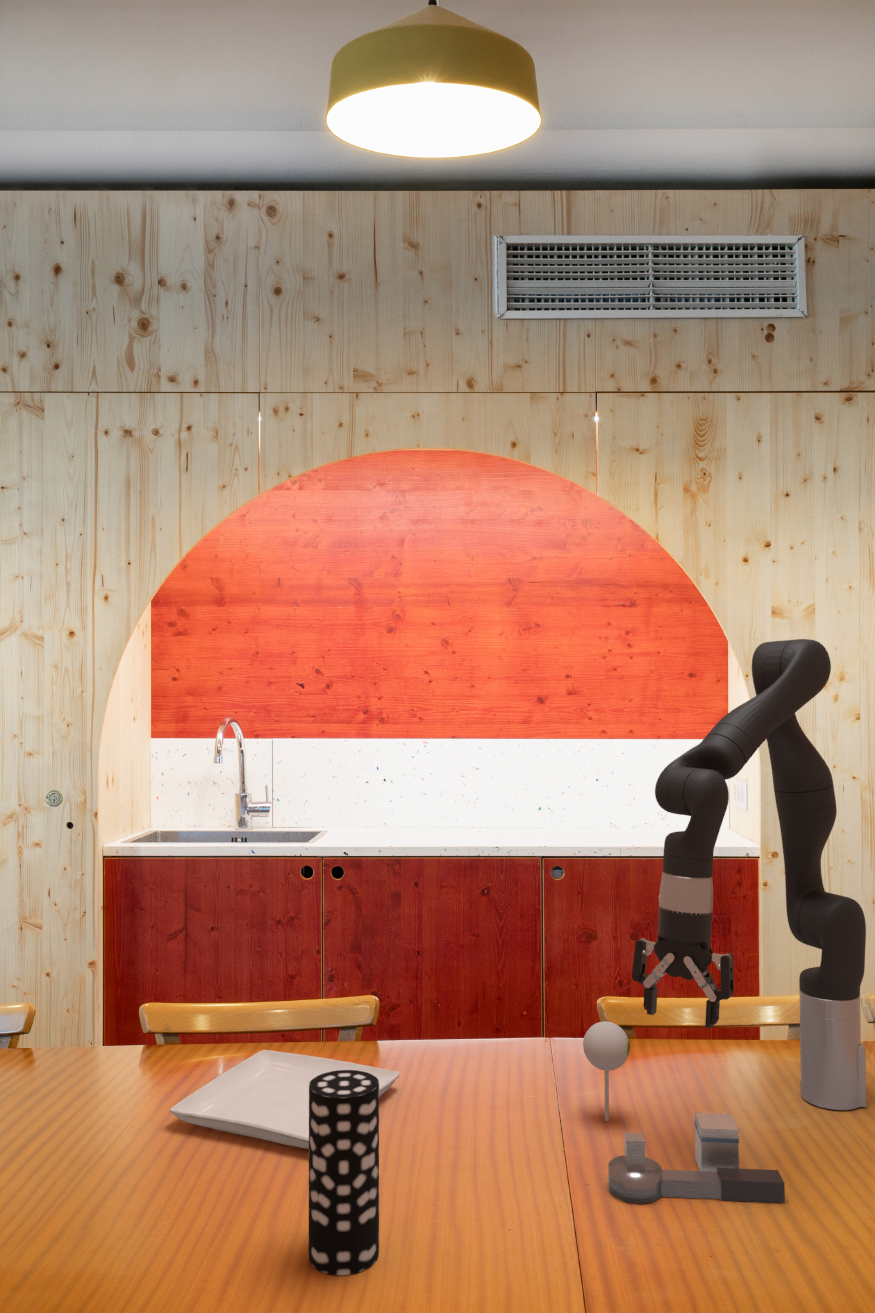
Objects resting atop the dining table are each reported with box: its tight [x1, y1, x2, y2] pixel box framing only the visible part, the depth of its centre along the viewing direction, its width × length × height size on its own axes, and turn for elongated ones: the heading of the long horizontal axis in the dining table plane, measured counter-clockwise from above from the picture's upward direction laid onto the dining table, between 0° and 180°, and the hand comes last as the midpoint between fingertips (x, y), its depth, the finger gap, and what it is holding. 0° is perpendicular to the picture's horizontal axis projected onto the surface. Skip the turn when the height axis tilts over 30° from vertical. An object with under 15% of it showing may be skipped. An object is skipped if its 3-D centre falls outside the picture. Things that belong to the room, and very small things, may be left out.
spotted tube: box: [308, 1070, 380, 1276], centre depth 116 cm, size 8×8×20 cm
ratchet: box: [607, 1132, 786, 1205], centre depth 130 cm, size 22×7×7 cm, turn 85°
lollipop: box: [582, 1021, 631, 1122], centre depth 152 cm, size 7×7×15 cm
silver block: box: [694, 1112, 740, 1172], centre depth 137 cm, size 5×5×6 cm
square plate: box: [169, 1049, 401, 1150], centre depth 156 cm, size 27×27×4 cm
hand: (680, 1020), depth 141 cm, fingers open, 8 cm apart
